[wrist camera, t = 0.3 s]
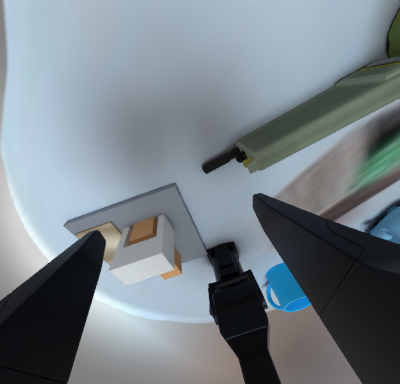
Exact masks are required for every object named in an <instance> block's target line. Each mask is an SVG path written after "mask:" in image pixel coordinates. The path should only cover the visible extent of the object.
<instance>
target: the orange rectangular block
mask: <svg viewBox="0 0 400 384" xmlns="http://www.w3.org/2000/svg"><path fill="white" fill-rule="evenodd" d="M157 225H158V222H157V220H156V219H155V217H152V218H149V219H146V220H143V221H141V222H138V223H135V224H134V226H133V230H132V233H131V236H130V240H129V241H130V242H131V243H132V244H136V243H139V242H142V241H145V240H148V239H151V238H153V237H156V234H157ZM174 267H175V270H172V271H169V272H166V273H163V274H160V275H161V276H162V278H163V279H164V280H165V279H168V278H171V277H174V276H177V275H180V274H182V267H181V257H180V255H179V253H178V252H177V250H176V249H175V247H174Z"/></svg>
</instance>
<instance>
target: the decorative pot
mask: <svg viewBox="0 0 400 384" xmlns="http://www.w3.org/2000/svg"><path fill="white" fill-rule="evenodd" d="M386 215H387V216H386V217H384V218H383V219H382V220H381V221H380V222H379V223H378V224H377V226H376V227H374V228H372V229H371V230H370V231H369V233H371V234H370V235H373V236H376V237H380V238H383V239H386V240H389V241H392V242H395V243H398V244H400V206H399V207H397V206H393V207H391V208H390V209H388V210H387V212H386Z"/></svg>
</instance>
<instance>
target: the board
mask: <svg viewBox="0 0 400 384" xmlns="http://www.w3.org/2000/svg"><path fill="white" fill-rule="evenodd" d="M163 214H165V216H166V218H167V219H168V221H169V223H170V224H171V226H172V228H173V229H174V247H175V249H176V250H177V252H178V253H179V255H180V257H181V263H184V262H187V261H190V260H193V259H196V258H199V257H202V256H205V255H208V254H207V250H206V248H205V246H204V244H203V242H202V239H201V237H200V235H199V233H198V231H197V229H196V227H195V225H194V222H193V220H192V218H191V216H190V214H189V212H188V210H187V208H186V205H185V203H184V201H183V199H182V197H181V195H180V193H179V191H178V188H177V186H176V184H175V183H173V184H171V185H168V186H165V187H162V188H159V189H157V190H154V191H151V192H148V193H145V194H142V195H140V196H137V197H134V198H131V199H128V200H126V201H123V202H120V203H117V204H114V205H111V206H109V207H106V208H103V209H100V210H97V211H95V212H92V213H89V214H86V215H83V216H80V217H78V218H75V219H72V220H69V221H67V222H66V223H65V224H64V227H65V228H66V229H68V230H69V231H70V232H71V233H72V234H74V235H75V234H76V233H78V232H81V231H84V230H87V229H89V228H92V227H95V226H98V225H101V224H104V223H106V222H109V221H112V222H113V223H114V225H115V226H116V227H117V228H118V229H119V230H120V231H121V232H123V229H124V228H126V227H128V226H130V227H131V228H132V229H133V226H134V224H135V223H138V222H141V221H143V220H146V219H149V218H152V217H155V219H156V220H157V222H158V216H160V215H163ZM77 238H78V237H77ZM78 239H79V238H78ZM103 260H104V259H103ZM104 261H105V260H104ZM109 265H110V264H109Z"/></svg>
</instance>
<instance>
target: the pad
mask: <svg viewBox="0 0 400 384" xmlns="http://www.w3.org/2000/svg"><path fill="white" fill-rule="evenodd" d="M93 230H99V231H100V232H101V234H102V235H103V237H104V238H105V239H106V247H105V253H104V258H103V259H104V260H105V261H106V262H107V263H108V264H110V265H111V263H112V260H113V257H114V254H115V252H116V249H117V246H118V243H119V240H120V238H121V235H122V232H121V231H120V230H119V229H118V228H117V227H116V226H115V225H114V223H113V222H112V221H109V222H106V223H104V224H101V225H98V226H95V227H92V228H89V229H87V230H84V231H81V232H78V233H76V234H75V236H76V237H78V238H79V239H80V238H82V237H83V236H84V235H85V234H87V233H88V232H90V231H93Z"/></svg>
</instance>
